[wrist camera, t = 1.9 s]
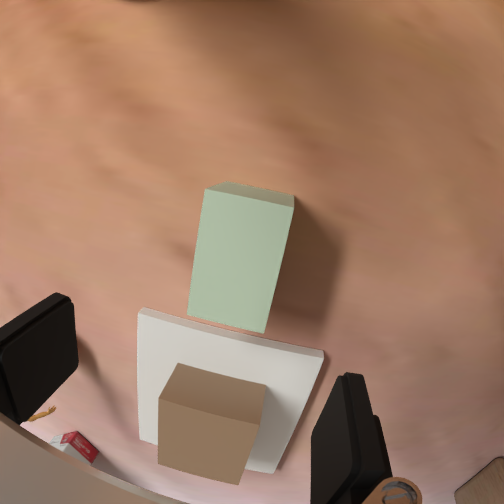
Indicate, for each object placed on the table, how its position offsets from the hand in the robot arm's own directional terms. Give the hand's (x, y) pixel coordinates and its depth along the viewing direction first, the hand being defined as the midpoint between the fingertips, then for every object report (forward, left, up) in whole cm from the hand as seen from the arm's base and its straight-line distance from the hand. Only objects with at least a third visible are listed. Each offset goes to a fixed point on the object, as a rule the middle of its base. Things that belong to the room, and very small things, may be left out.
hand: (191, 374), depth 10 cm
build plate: (+17, 0, -15) cm, 23 cm away
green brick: (0, 0, -16) cm, 16 cm away
